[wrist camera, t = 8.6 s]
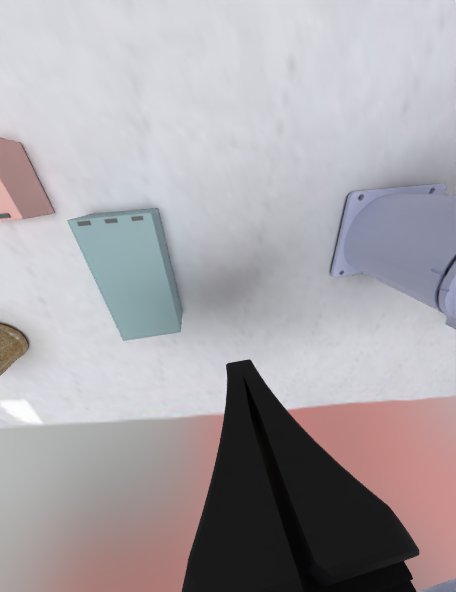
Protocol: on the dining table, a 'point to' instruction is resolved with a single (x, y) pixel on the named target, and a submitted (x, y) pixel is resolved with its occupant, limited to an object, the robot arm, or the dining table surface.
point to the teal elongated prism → (131, 270)
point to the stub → (19, 185)
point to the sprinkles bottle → (10, 347)
